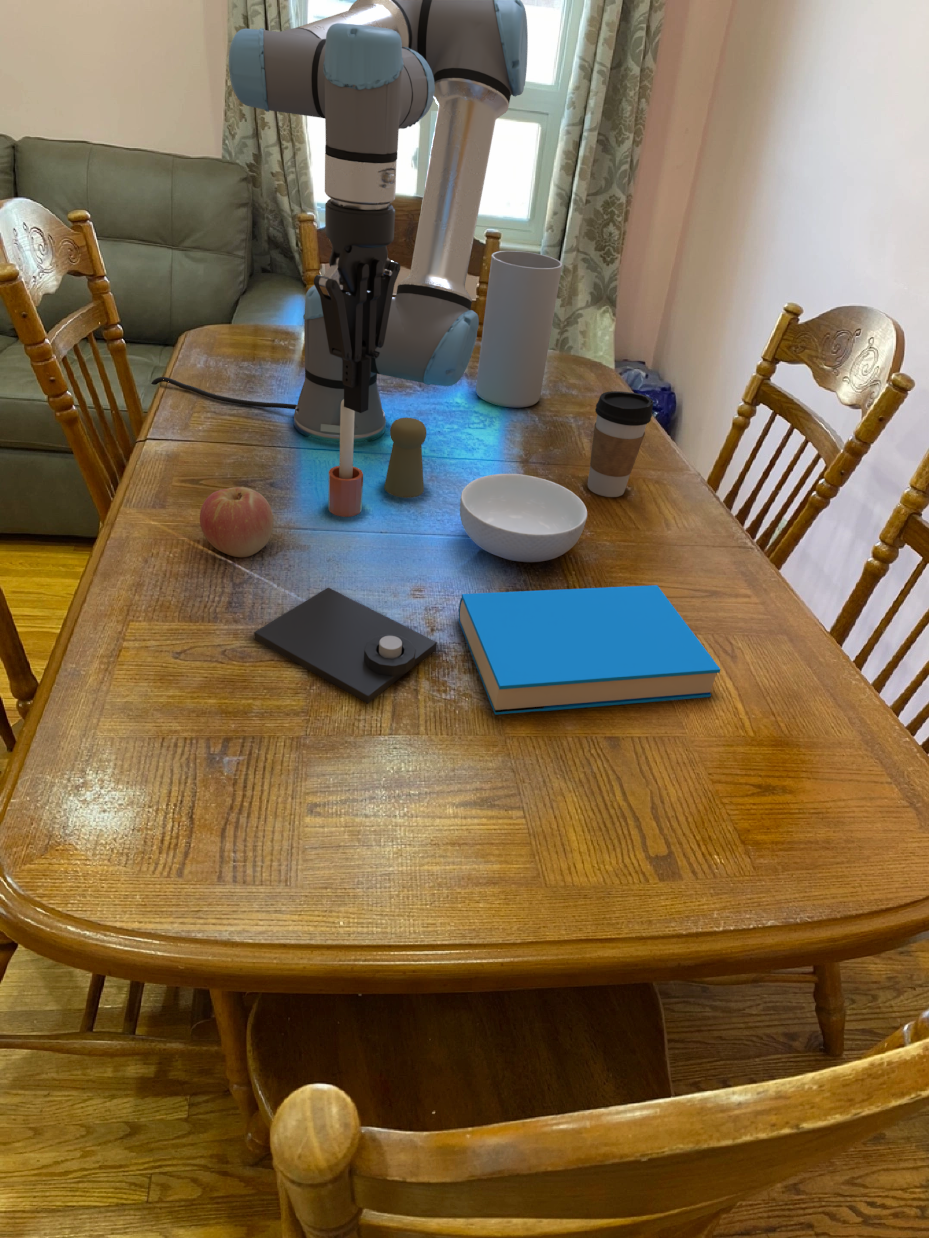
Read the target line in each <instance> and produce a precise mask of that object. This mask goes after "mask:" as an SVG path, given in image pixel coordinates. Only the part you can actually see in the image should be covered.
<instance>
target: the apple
mask: <svg viewBox="0 0 929 1238" xmlns="http://www.w3.org/2000/svg"><path fill="white" fill-rule="evenodd" d="M274 522H275V519H274V513H273V509H272V507H271V505H270V503H269V502H268V500H267V499H266V497H264V495H262V494H261V493H259V492H258V491H256V490H253V489H251V488H249V487H243V486H239V487H238V486H237V487H236V486H235V487H228V488H224V489H220V490H216V491H214V492H211V494H209V495H208V496H207V497H206V499H205V500H204V501H203V503H202V505H201V507H200V511H199V525H200V528H201V532H202V534H203V536H204V537H205V539H206V540H207V541H208V543H209V544H210V546H212V547H213V548H215V549H216V550H218V551H219V552H221V553H224V554H226V555H228V556H231V557H234V558H248V557H251V556H253V555H255V554H257V553H259V551H262V549H263V548H264V547H265V546H266V545H267V544H268V543H269V541H270V539H271V537H272V534H273V532H274V531H273V530H274Z"/></svg>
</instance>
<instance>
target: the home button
mask: <svg viewBox="0 0 929 1238" xmlns="http://www.w3.org/2000/svg"><path fill="white" fill-rule="evenodd" d="M401 652H402V641H401V640H400V639H399V638H398V637H395V636H385V637H383V638H381V639H380V641H379V654H380V655H381V656H382V657H384V658H390V659H394V658H398V657H399V656H400V655H401Z"/></svg>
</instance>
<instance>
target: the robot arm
mask: <svg viewBox="0 0 929 1238" xmlns="http://www.w3.org/2000/svg"><path fill="white" fill-rule="evenodd" d="M528 31H529V30H528V17H527V12H526V7H525V5H524V3H523V2H522V0H355V1H354V2H353V3H352V4H351V5H350V7H349V9H348V10H346V11H343V12H339V13H337V14H334V15H330V16H327V17H325V18H322V19H317V20H315V21H312V22H309V23H306V24H303V25H300V26H296V27H293V28H288V29H285V30H281V31H277V30H275V31H273V30H268V29H267V30H266V29H265V28H263V27H260V28H259V29H257V28H241V29H238V31H236V32H235V35H234V36H233V38H232V40H231V43H230V46H229V51H228V72H229V81H230V84H231V88H232V91H233V93H234V95H235V96H236V98H237V100H239V102H240V103H242V104H243V105H245V106H246V107H251V108H254V109H255V108H256V109H260V110H264V111H265V112H267V113H270V112H277V113H284V114H291V115H298V116H307V117H312V118H319V119H324V121H325V122H324V124H325V128H324V129H325V130H324V131H325V145H324V146H325V147H324V150H325V151H324V193H325V194H326V197H328V198H329V199H328V200H327V201H326V202H325V203H324V227H325V228H324V229H325V231H324V232H325V236H326V237H327V238H328V241H330V243H331V253H330V256H329V258H328V259H329V260H328V265H329V268H328V269H327V270H326V272H325V273H324V275H320V274H316V275H315V276H314V278H313V284H314V285H312V286H310V287H309V289H308V290H307V291H306V294H305V298H304V313H303V316H302V317H303V320H304V321H303V322H304V323H303V327H304V329H303V330H304V332H303V333H304V381H303V384H302V387H301V390H300V393H299V397H298V400H297V404H296V403H295V404H294V403H293V404H292V403H283V402H265V401H255V400H247V399H241V398H233V397H228V396H224V395H220V394H215V393H211V392H209V391H206V390H204V389H201V388H199V387H195V386H193V385H189V384H185V383H183V382H180V381H178V380H175V379H173V378H171V377H166V376H159V377H156V378H154V379H153V380H152V381H151V382H150V385H158V384H159V383H168V384H171V385H173V386H175V387H178V388H180V389H183V390H185V391H189V392H193V393H195V394H198V395H201V396H203V397H206V398H209V399H213V400H216V401H220V402H224V403H230V404H235V405H242V406H250V407H257V408H258V407H259V408H271V409H272V408H274V409H287V410H294V413H293V425H294V428H295V430H297V432H299V433H300V434H301V435H303V436H305V437H306V438H312V439H315V440H319V441H323V442H329V443H339V444H340V416H341V402H342V400H343V399H344V407H346V408H348V409H351V410H354V411H355V414H354V443H362V442H363V443H364V442H371V441H374V440H377V439H378V438H380V437H381V436H383V434H384V433H386V427H387V426H386V425H387V424H386V423H387V419H386V418H387V417H386V414H385V411H384V409H383V406H382V400H381V396H380V392H379V387H378V375H381V376H387V377H391V378H398V379H402V380H407V381H413V382H418V383H423V384H425V385H427V386H430V385H435V386H442V387H452V386H454V385H456V384H457V383H458V382H459V381H460V380H461V378H462V377H463V376H464V374H465V372H466V370H467V367H468V365H469V363H470V361H471V358H472V355H473V351H474V348H475V346H476V341H477V337H478V329H479V326H480V325H479V324H480V319H479V315H478V313H476V312H475V311H474V310H472V305H473V299H472V297H471V296H470V294H469V292H468V290H467V289H466V282H467V276H468V272H469V266H470V261H471V254H472V249H473V245H474V238H475V233H476V229H477V228H476V227H477V223H478V218H479V217H478V216H479V212H480V205H481V201H482V195H483V190H484V185H485V180H486V174H487V169H488V163H489V159H490V154H491V153H490V152H491V146H492V142H493V135H494V131H495V126H496V121H497V119H498V118H501V116H503V115H505V114H506V113H507V112H508V110H509V106H510V102H511V97H512V96H513V97H515V98H517V96H520V95H522V94H523V93H524V90H525V89H524V88H525V86H526V79H527V71H528V70H527V68H528V52H529V51H528V50H529V49H528V47H529V45H528V40H529V39H528V38H529V37H528ZM434 100H435V103H436V104H437V105H438V106H437V107H438V109H437V115H436V119H435V126H434V132H433V137H432V143H431V148H430V155H429V159H428V160H429V161H428V167H427V174H426V179H425V182H424V183H425V184H424V190H423V196H422V200H421V201H422V202H421V208H420V215H419V219H418V225H417V230H416V231H417V232H416V236H415V242H414V249H413V253H412V260H411V266H410V272H409V275H407V277H405V278H404V279H402V280H401V281H400V282H398V283H397V287H396V293H395V297H393V295H394V291H395V284H396V282H397V280H398V276H399V274H400V271H401V268H402V267H401V264H400V262H396V261H394V260H391V259H390V258H389V257H388V256H389V250H388V247H387V246H389V245H391V244H392V243H393V242H394V240H395V224H396V223H395V222H396V221H395V220H396V209H395V208H394V206H393V205H392V203H393V202H394V201H395V200H396V188H397V187H396V186H397V162H398V161H397V160H398V150H399V132H400V130H404V129H407V128H408V127H409V128H411V127H413V126H414V125H416V124H417V123H418V122H419V121H420V120H421V119H423V118H424V117H425V116H426V115H427V114H428V112H429V110H430V109H431V107H432V105H433V102H434ZM163 379H164V380H163ZM168 381H169V382H168Z"/></svg>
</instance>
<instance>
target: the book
mask: <svg viewBox="0 0 929 1238" xmlns="http://www.w3.org/2000/svg"><path fill="white" fill-rule="evenodd" d="M458 623H459V626H460V627H461V631H462V633H463V635H464V638H465V640H466V641H465V642H466V644H467V647H468V649H469V652H470V653H471V657H472V659H473V662H474V664H475V667H476V670H477V672H478V674H479V678H480V680H481V682H482V685H483V687H484V688H483V689H484V690H485V692H486V695H487V698H488V700H489V703H490V706H491V707H492V710H493V713H494V715H507V714H518V713H519V714H521V713H532V712H549V711H559V710H572V709H584V708H596V707H608V706H619V705H630V704H631V705H632V704H642V703H655V702H656V703H657V702H666V701H667V702H668V701H680V700H690V699H703V698H711V696H712V693H711V690H712V688H713V686H714V683H715V680H716V677H717V674H720V672H721V668H720V666H719V665H718V664H717V662H716V661H715V660H714V658H713V657H712V656H711V654H710V653H709V652H708V651H707V649H706V648H705V647H704V646H703V644H702V643H701V641H700V639H699V638H698V637H697V636H696V634H695V633H694V632H693V630H692V629H691V628H690V627H689V625H688V624H687V623H686V621H685V620H684V619H683V617H682V615H680V613H679V611H677V609H676V608H675V607H674V605H673V604H672V603H671V601H670V600H669V599H668V598H667V596H666V595H665V593H664V592H663V590H662V589H661V588H660V586H659V585H658V584H654V585H653V584H651V585H630V586H629V585H628V586H608V587H607V586H606V587H588V588H587V587H585V588H584V587H583V588H566V589H565V588H563V589H543V590H542V589H540V590H522V591H520V590H519V591H518V590H517V591H499V592H495V591H494V592H479V593H478V592H474V593H473V592H472V593H461V598H460V600H459V605H458ZM535 707H536V708H535ZM537 707H542V708H537ZM526 708H532V709H526ZM515 709H519V710H515ZM520 709H521V710H520ZM501 710H502V711H501ZM503 710H507V711H503ZM508 710H509V711H508Z"/></svg>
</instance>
